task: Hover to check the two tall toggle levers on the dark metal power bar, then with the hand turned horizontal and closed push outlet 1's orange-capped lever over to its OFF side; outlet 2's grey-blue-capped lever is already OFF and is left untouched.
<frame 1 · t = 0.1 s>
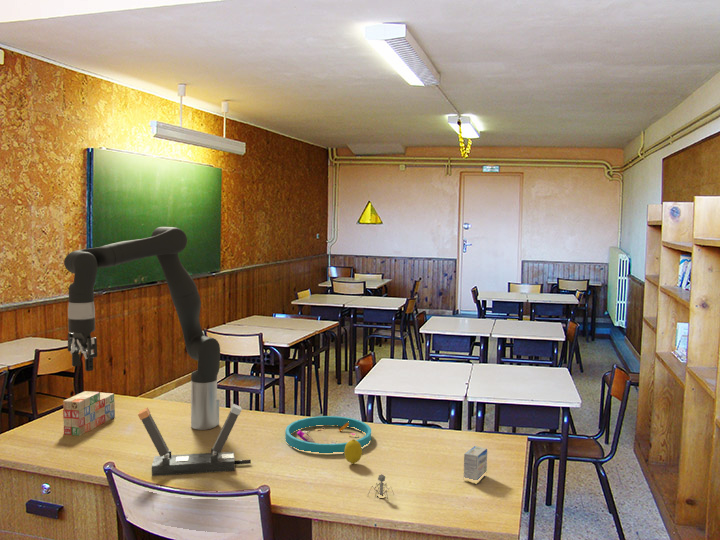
hand: (82, 368, 194), 29 cm above the table, tool pointing down, fingers open, 8 cm apart
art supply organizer: (328, 440, 220), on the table
stack of blocks: (90, 426, 229), on the table
medicine box: (475, 479, 189), on the table
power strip: (194, 468, 192), on the table
lemon: (352, 464, 198), on the table
bacteriophage: (381, 498, 175), on the table
rocker 1: (155, 435, 189), point 11 cm above the table, hinge at -25.0°
rocker 2: (225, 431, 193), point 11 cm above the table, hinge at 25.0°
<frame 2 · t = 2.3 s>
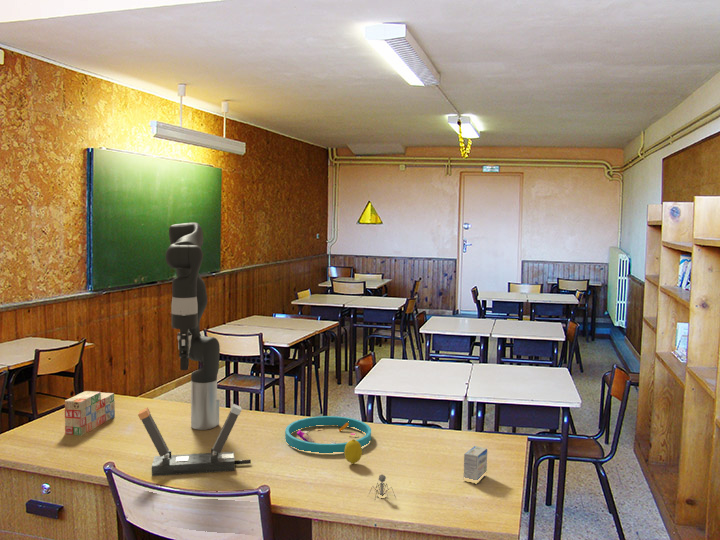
hand: (184, 368, 189), 31 cm above the table, tool pointing down, fingers open, 3 cm apart
nothing on the table moved.
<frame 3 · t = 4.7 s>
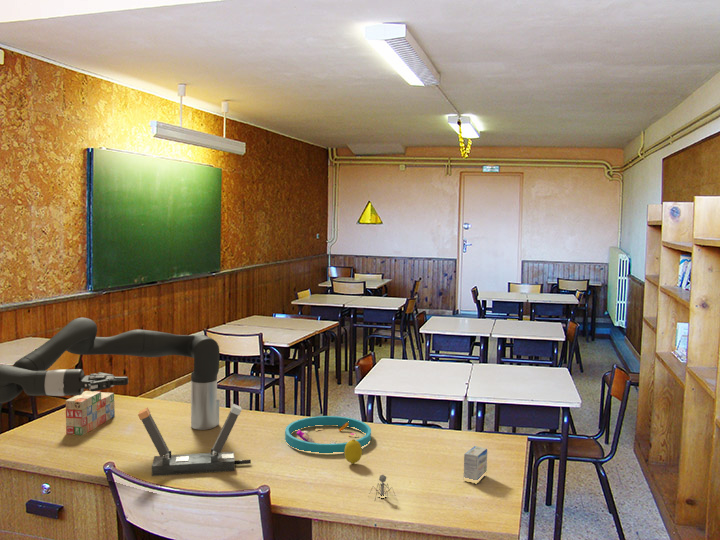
hand: (127, 380, 186), 28 cm above the table, tool horizontal, fingers closed
nothing on the table moved.
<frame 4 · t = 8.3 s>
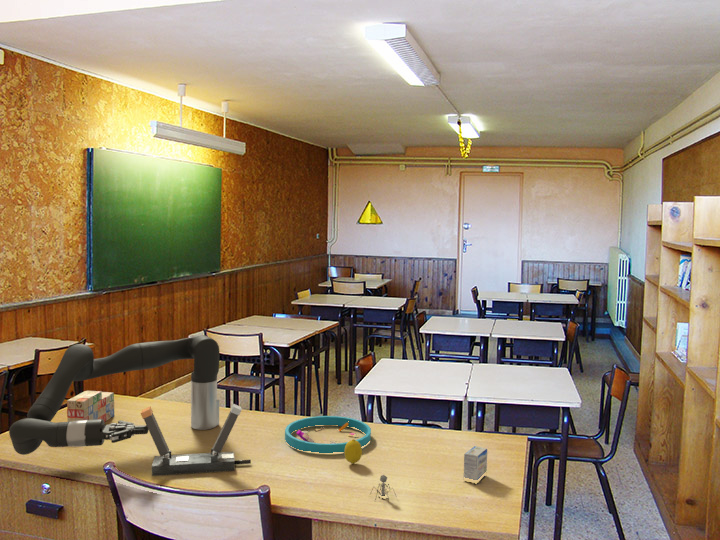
hand: (147, 429, 187), 13 cm above the table, tool horizontal, fingers closed
rocker 1: (156, 434, 189), point 11 cm above the table, hinge at -22.0°, touching gripper
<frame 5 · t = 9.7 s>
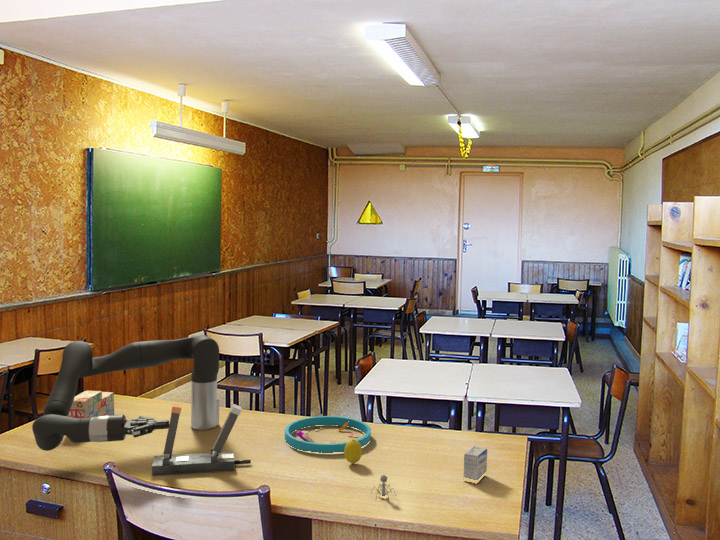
hand: (168, 424, 188), 14 cm above the table, tool horizontal, fingers closed
rocker 1: (171, 432, 190), point 12 cm above the table, hinge at 10.9°, touching gripper
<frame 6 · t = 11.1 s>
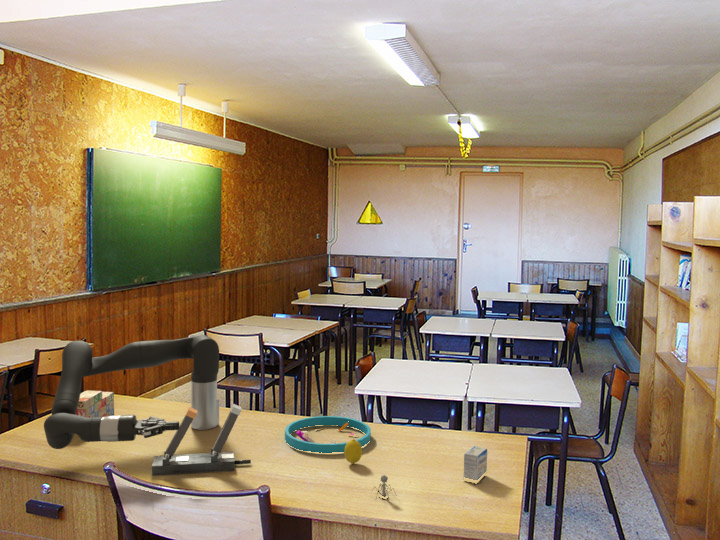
hand: (178, 425, 189), 14 cm above the table, tool horizontal, fingers closed
rocker 1: (179, 434, 190), point 11 cm above the table, hinge at 28.3°, touching gripper
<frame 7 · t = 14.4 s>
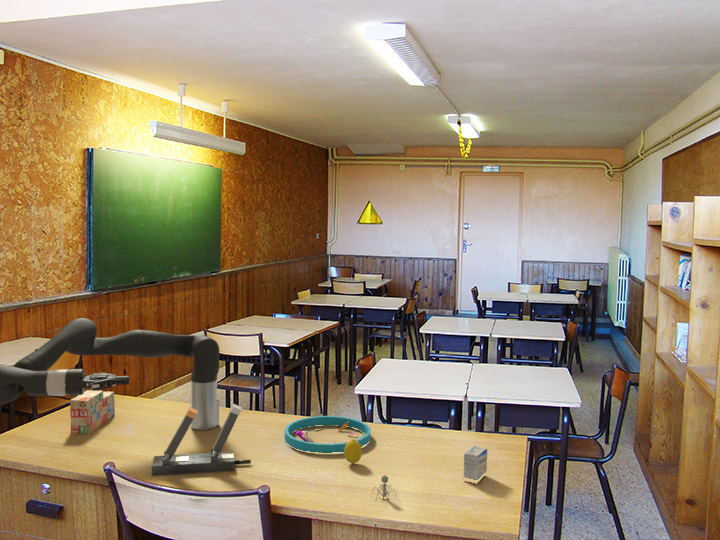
hand: (129, 380, 186), 28 cm above the table, tool horizontal, fingers closed
rocker 1: (179, 434, 190), point 11 cm above the table, hinge at 28.5°
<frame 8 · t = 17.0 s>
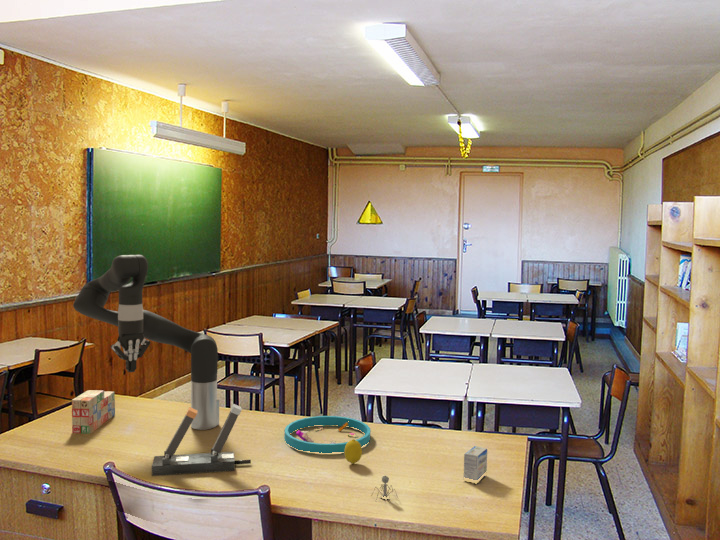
hand: (131, 371, 200), 27 cm above the table, tool pointing down, fingers closed
at the end: rocker 1 at +28° (first picture: -25°); rocker 2 at +25° (first picture: +25°); rocker 1 touching nothing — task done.
